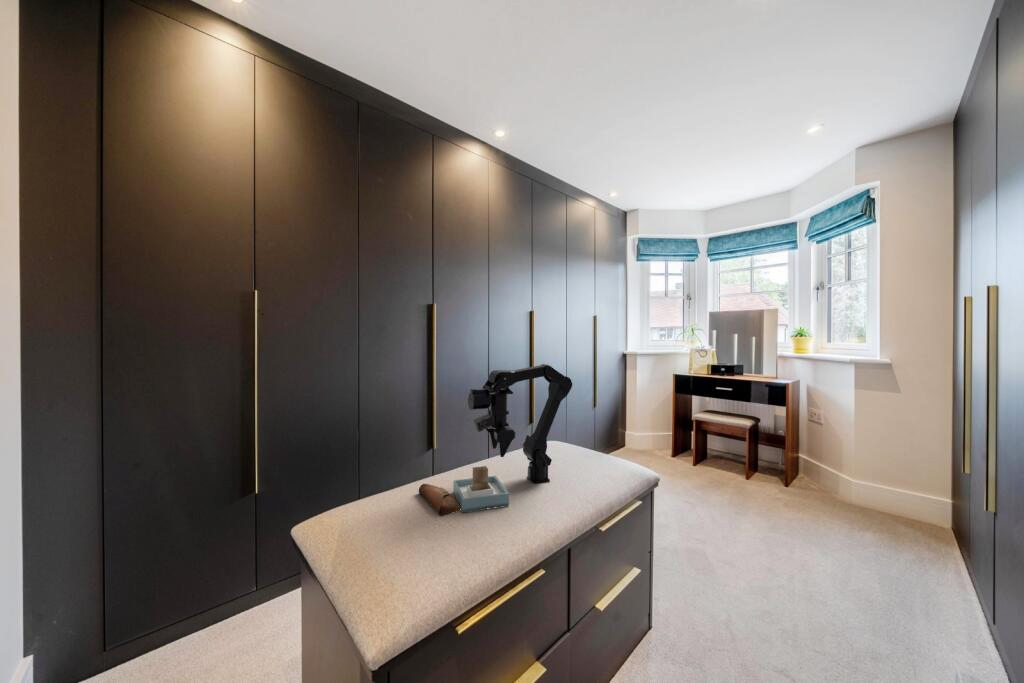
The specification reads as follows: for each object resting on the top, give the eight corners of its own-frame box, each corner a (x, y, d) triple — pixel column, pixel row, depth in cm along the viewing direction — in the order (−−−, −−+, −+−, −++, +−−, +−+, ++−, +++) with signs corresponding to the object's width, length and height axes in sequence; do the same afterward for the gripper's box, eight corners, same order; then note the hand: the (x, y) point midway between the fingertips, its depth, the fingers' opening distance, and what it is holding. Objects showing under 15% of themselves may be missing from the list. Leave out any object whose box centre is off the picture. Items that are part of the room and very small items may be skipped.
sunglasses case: (465, 509, 114) (455, 493, 112) (446, 526, 110) (436, 510, 108) (442, 487, 129) (432, 473, 127) (425, 502, 126) (415, 487, 123)
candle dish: (495, 486, 130) (495, 475, 130) (508, 506, 116) (509, 493, 116) (453, 492, 125) (453, 480, 125) (461, 513, 112) (462, 499, 111)
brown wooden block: (485, 490, 123) (486, 466, 122) (487, 493, 120) (488, 468, 120) (472, 492, 121) (472, 467, 121) (474, 495, 119) (474, 470, 119)
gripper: (469, 403, 135) (469, 446, 136) (482, 414, 118) (481, 464, 118) (499, 401, 139) (498, 443, 139) (516, 412, 121) (515, 460, 122)
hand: (498, 452), depth 130 cm, fingers open, 9 cm apart
